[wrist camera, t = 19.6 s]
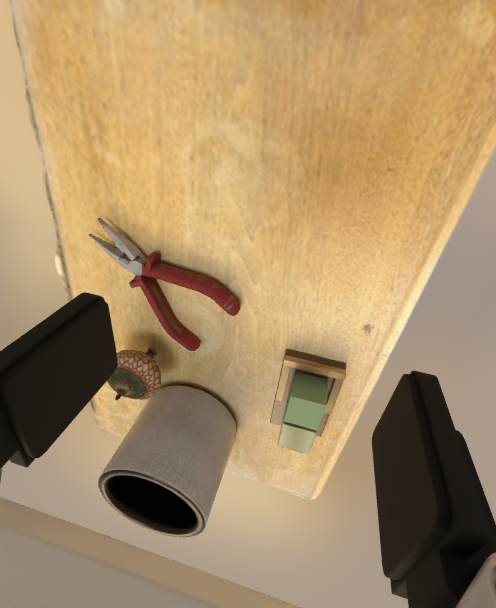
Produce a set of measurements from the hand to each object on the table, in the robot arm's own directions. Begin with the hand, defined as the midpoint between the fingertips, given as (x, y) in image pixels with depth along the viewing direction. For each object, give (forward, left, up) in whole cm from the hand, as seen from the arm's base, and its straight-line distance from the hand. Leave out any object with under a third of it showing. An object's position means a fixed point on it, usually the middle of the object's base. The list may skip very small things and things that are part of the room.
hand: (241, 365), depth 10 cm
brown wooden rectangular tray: (+16, +23, -26) cm, 39 cm away
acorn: (+33, +6, -26) cm, 43 cm away
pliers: (+20, -1, -26) cm, 33 cm away
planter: (+37, +20, -26) cm, 50 cm away
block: (+15, +22, -25) cm, 36 cm away
